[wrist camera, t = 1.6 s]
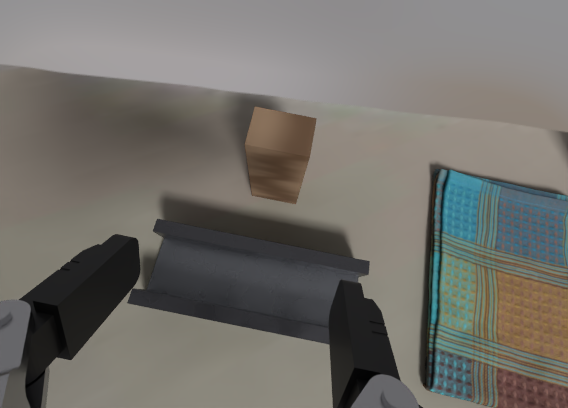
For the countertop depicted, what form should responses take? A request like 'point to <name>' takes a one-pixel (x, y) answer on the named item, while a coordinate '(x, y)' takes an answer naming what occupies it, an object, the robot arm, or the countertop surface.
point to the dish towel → (498, 293)
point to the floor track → (246, 281)
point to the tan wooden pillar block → (278, 153)
